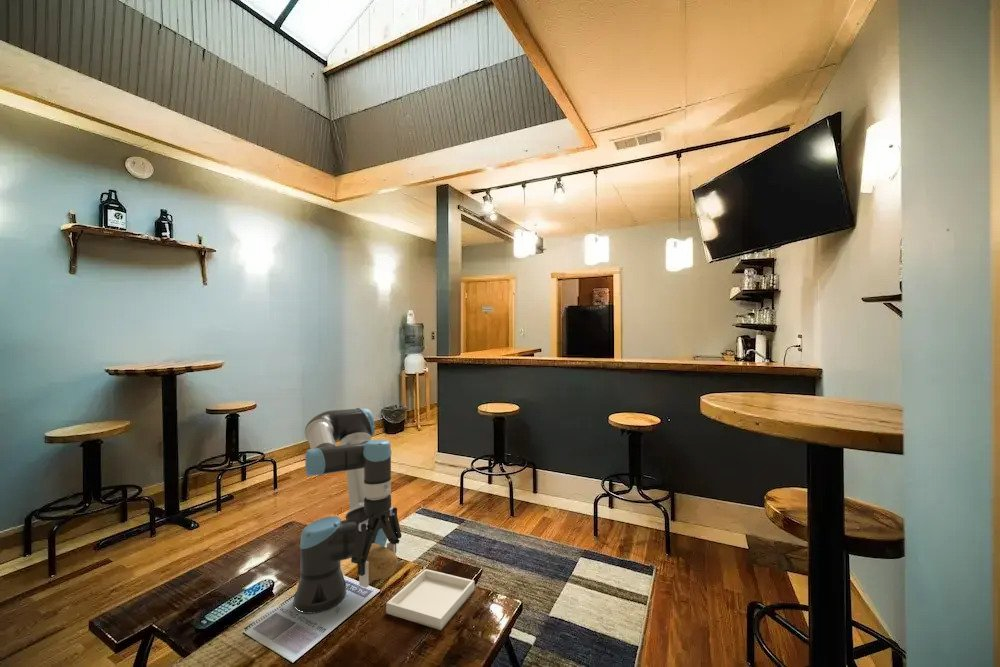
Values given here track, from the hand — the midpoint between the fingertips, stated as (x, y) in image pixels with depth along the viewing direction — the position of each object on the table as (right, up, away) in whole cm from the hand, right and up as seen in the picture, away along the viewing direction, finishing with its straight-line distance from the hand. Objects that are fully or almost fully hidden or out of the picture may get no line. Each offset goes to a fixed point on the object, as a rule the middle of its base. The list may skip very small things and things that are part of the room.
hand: (378, 575), depth 111 cm
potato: (0, 0, 0) cm, 0 cm away
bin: (+14, -14, +10) cm, 22 cm away
